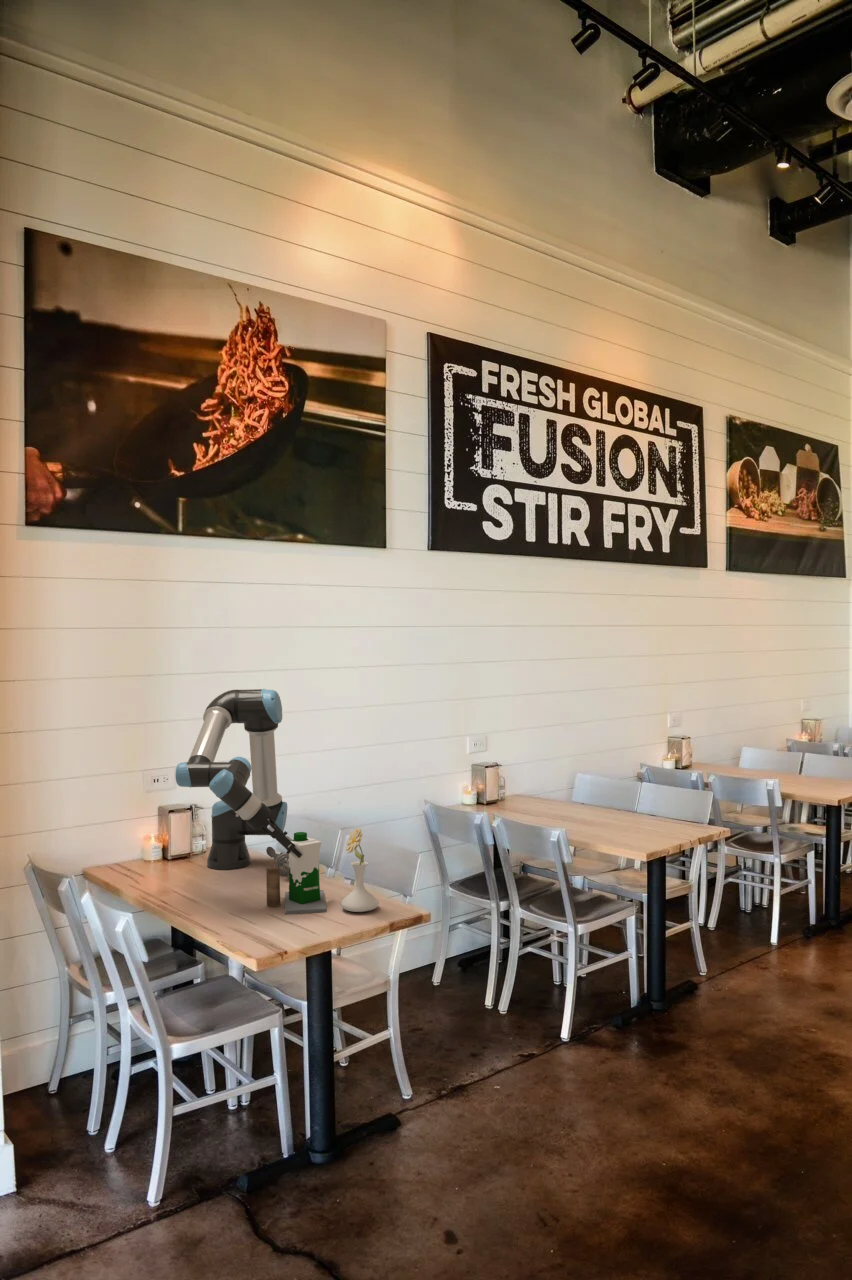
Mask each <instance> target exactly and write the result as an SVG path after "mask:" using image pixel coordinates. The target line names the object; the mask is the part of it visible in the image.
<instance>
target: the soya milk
mask: <svg viewBox="0 0 852 1280" xmlns="http://www.w3.org/2000/svg"><path fill="white" fill-rule="evenodd" d="M290 841H291V842H292V843H293V844H295V845H296V846H297V847H298V848H299V849H300V850H302V851H303V852H304V853H305V854H306V855H307V856H308V857H309V858H310V859H311V860H310V862H309V863H308V864H307V865H306V866H304V865H303V864H302V863H301V862H299V861H298V860H297V859H296V858H295V857H294V856H293V855H292V854H291V853H289V859H288V861H289V880H288V892H289V899H290V900H292V901H294V902H297V903H299V904H305V903H309V902H313V901H318V900H321V898H320V890H321V888H320V887H321V886H320V851H321V846H322V841H320V840H318V839H317V838H316V839H315V838H312V837H308V833H307V832H304V831H298V832H296V831H295V832H294V833H293V839H292V840H290ZM290 845H291V844H290ZM290 845H289V846H290ZM289 846H288V848H289Z"/></svg>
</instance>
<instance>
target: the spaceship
mask: <svg viewBox="0 0 852 1280" xmlns="http://www.w3.org/2000/svg"><path fill="white" fill-rule="evenodd" d="M266 854H267V856H268V857H270V858H273V860H274V866H273V867H278V868H280V877H281V876H282V877H284V876H285V877H286V880H288V881H289V854H287V853H286V852H285V853H283V852H280V853H277V852H276V849H274V847H272V846H267V847H266ZM281 868H282V869H281Z"/></svg>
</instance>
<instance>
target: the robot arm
mask: <svg viewBox="0 0 852 1280" xmlns="http://www.w3.org/2000/svg"><path fill="white" fill-rule="evenodd" d="M202 719H203V723H202V725H201V728H200V730H199V733H198V735H197V738H196V741H195V744H194V745H193V748H192V751H191V752H190V756H189V758H188V760H187V761H184V762H179V763H178V764H177V765H176V767H175V768H176V769H175V774H174V775H175V781H176V784H177V786H178V787H182V788H209V790H211V792H212V793H213V794H214V795H215V797H217V798H219V800H218V801H216V802H215V803H214V804H213V805H212V807H211V816H210V817H211V846H210V849H209V853H208V856H207V860H206V864H207V865H206V866H207V867H208V868H209V869H213V870H234V869H241V868H246V867H247V866H249V865H250V864H251V855H250V853H249V852H250V851H249V848H248V846H247V843H246V836H270V837H271V838H272V839H275V840H276V841H277V842H278V843H279V844H280V845H281V846H282V847H283V848H284V849H285V850H286V852H285V853H287V854H289V853H291V854H292V855H293V856H294V857H295V858H296V859H297V860H298V861H299V862H301V863H302V864H303V865H304V866H306V865H307V864H308V863H309V862H310V860H311V859H310V858H309V857H308V856H307V855H306V854H305V853H304V852H303V851H302V850H300V849H299V848H298V847H297V846H296V845H295V844H293V843H292V842H291V841H290V840H293V839H292V838H290V836H289V835H288V834H289V832H288V831H286V830H285V826H286V822H287V816H288V815H287V814H288V802H286V801H283V796H282V795H281V794H280V793H278V780H277V779H278V777H277V763H276V762H277V761H276V760H277V759H276V743H275V731H276V730H277V728H278V727H279V724H280V723H281V722H282V720H283V706H282V700H281V696H280V694H279V693H278V692H277V691H276V690H274V689H266V688H261V689H260V688H259V689H258V688H257V689H231V690H228V691H224V692H223V693H220V694H219V695H218V696H216V697H215V698H214V699H213V700H211V702H210V703H208V705H207V706H206V708H205V711H204V713H203V715H202ZM231 724H243V727H244V728H243V729H244V730H245V731H246V732H247V733H248V734H249V736H248V737H249V752H250V761H249V760H248V759H247V758H246V757H242V756H235V757H233V758H231V759H230V760H229V761H225V762H224V761H223V762H222V761H221V762H220V761H218V762H215V758H216V756H217V753H218V751H219V749H220V745H221V743H222V740H223V737H224V735H225V732H226V730H228V728H229V727H230V726H231ZM250 776H251V782H252V783H251V785H252V791H251V790H250V789H248V788H247V787H246V785H247V783H248V780H249V779H250ZM284 830H285V831H284ZM290 844H291V845H290ZM289 845H290V846H289ZM288 846H289V848H288Z"/></svg>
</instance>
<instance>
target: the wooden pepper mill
mask: <svg viewBox="0 0 852 1280" xmlns="http://www.w3.org/2000/svg"><path fill="white" fill-rule="evenodd" d="M280 869H281V868H278V867H277V866H276V867H274V866H270V867H267V868H266V870H265V871H266V875H265V877H266V879H265V880H266V906H267V907H270V908H277V907H280V905H281V875H280Z"/></svg>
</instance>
